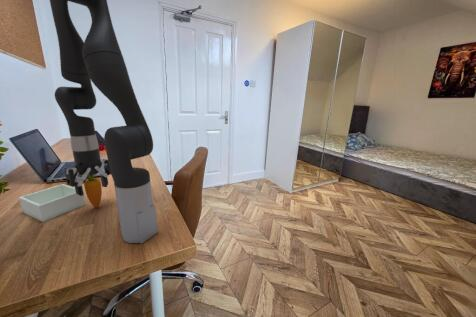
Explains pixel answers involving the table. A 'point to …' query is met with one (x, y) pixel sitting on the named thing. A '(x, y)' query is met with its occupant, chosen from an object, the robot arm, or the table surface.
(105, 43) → the robot arm
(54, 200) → the bin
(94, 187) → the carrot
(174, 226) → the table surface
